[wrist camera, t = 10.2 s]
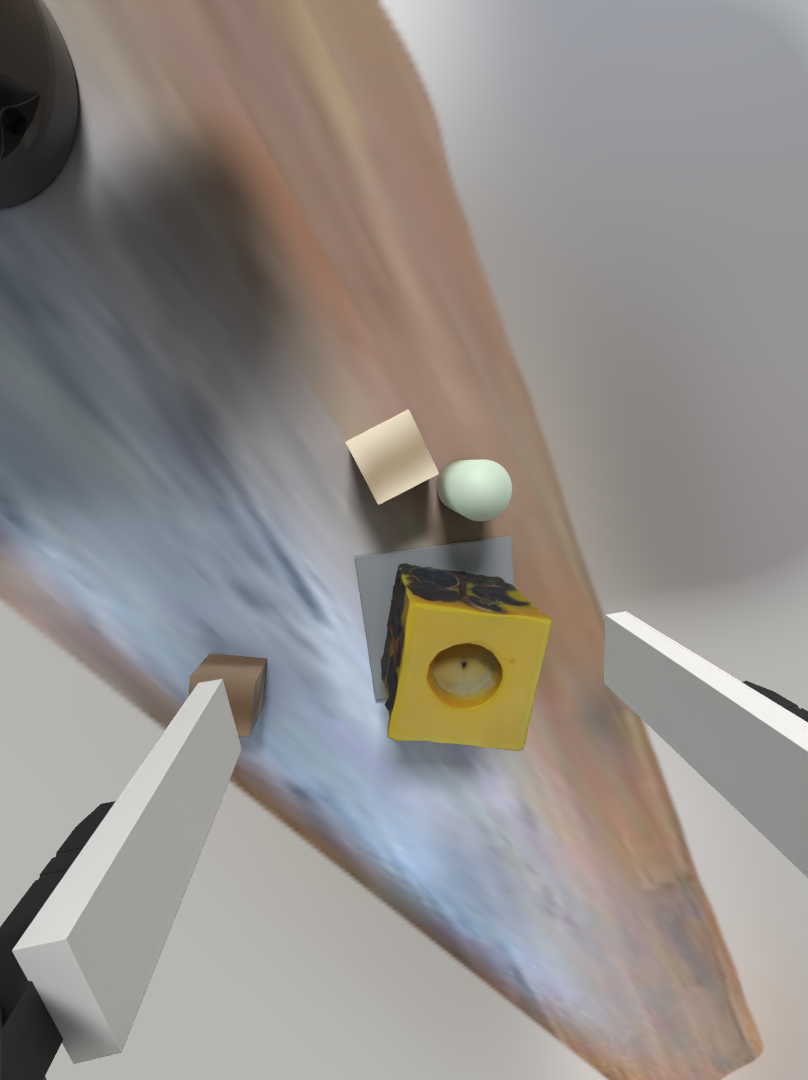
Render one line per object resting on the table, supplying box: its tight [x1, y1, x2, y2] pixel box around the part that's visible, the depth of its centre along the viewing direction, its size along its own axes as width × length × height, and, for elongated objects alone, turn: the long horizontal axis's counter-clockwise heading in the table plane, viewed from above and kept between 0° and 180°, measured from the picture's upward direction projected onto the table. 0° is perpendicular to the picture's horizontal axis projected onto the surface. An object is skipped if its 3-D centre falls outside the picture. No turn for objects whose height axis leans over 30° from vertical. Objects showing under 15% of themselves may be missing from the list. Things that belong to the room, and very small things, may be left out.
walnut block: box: [189, 653, 267, 737], centre depth 32 cm, size 5×5×4 cm
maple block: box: [346, 409, 439, 505], centre depth 29 cm, size 5×5×5 cm
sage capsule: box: [437, 460, 512, 521], centre depth 30 cm, size 4×4×6 cm
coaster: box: [355, 536, 514, 700], centre depth 35 cm, size 14×14×1 cm
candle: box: [381, 563, 552, 751], centre depth 29 cm, size 10×10×10 cm
